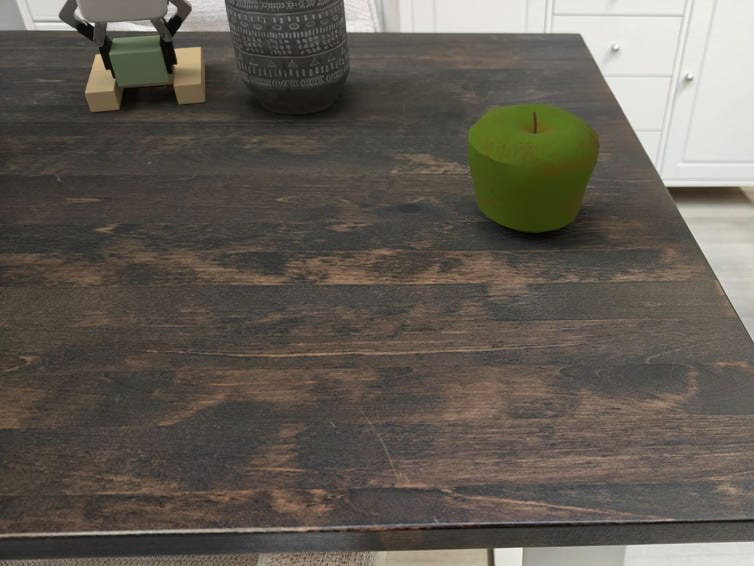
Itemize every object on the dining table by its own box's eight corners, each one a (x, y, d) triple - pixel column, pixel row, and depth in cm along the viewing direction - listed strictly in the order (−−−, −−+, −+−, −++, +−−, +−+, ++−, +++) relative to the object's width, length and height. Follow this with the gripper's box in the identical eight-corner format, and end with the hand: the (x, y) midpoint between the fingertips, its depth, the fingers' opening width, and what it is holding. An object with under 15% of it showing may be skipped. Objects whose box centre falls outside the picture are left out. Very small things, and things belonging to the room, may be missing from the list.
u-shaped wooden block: (91, 112, 95) (84, 93, 93) (101, 72, 105) (95, 54, 103) (205, 102, 98) (201, 83, 96) (204, 64, 108) (201, 46, 106)
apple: (448, 232, 75) (446, 124, 67) (495, 179, 83) (499, 78, 76) (565, 262, 71) (577, 152, 64) (603, 204, 80) (618, 101, 72)
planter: (227, 94, 100) (201, -28, 90) (322, 72, 106) (308, -44, 96) (273, 132, 91) (250, 2, 81) (373, 105, 98) (363, -18, 88)
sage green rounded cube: (118, 86, 94) (108, 54, 91) (122, 69, 98) (112, 38, 96) (168, 82, 95) (160, 50, 93) (169, 65, 100) (161, 34, 97)
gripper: (179, -96, 89) (212, 57, 101) (22, -91, 85) (76, 67, 97) (177, -83, 84) (213, 77, 96) (10, -76, 80) (68, 89, 92)
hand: (143, 71), depth 96 cm, fingers closed on sage green rounded cube, 6 cm apart
